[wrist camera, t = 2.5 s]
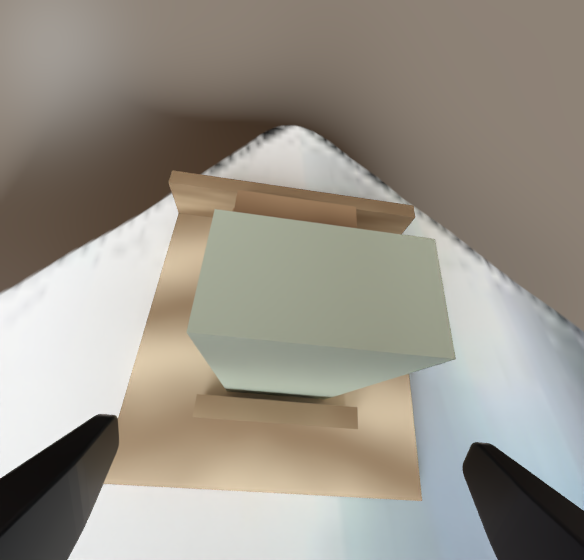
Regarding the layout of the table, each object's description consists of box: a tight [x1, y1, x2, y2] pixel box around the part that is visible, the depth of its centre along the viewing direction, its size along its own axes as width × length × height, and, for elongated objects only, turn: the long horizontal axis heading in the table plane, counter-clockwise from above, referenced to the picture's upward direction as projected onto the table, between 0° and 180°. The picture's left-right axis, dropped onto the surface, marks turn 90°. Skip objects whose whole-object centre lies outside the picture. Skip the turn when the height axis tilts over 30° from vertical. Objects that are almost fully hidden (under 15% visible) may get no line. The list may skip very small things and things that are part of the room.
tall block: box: [186, 209, 456, 400], centre depth 12 cm, size 3×6×12 cm, turn 86°
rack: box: [103, 171, 422, 501], centre depth 18 cm, size 17×16×4 cm
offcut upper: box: [234, 190, 357, 228], centre depth 18 cm, size 6×7×2 cm
